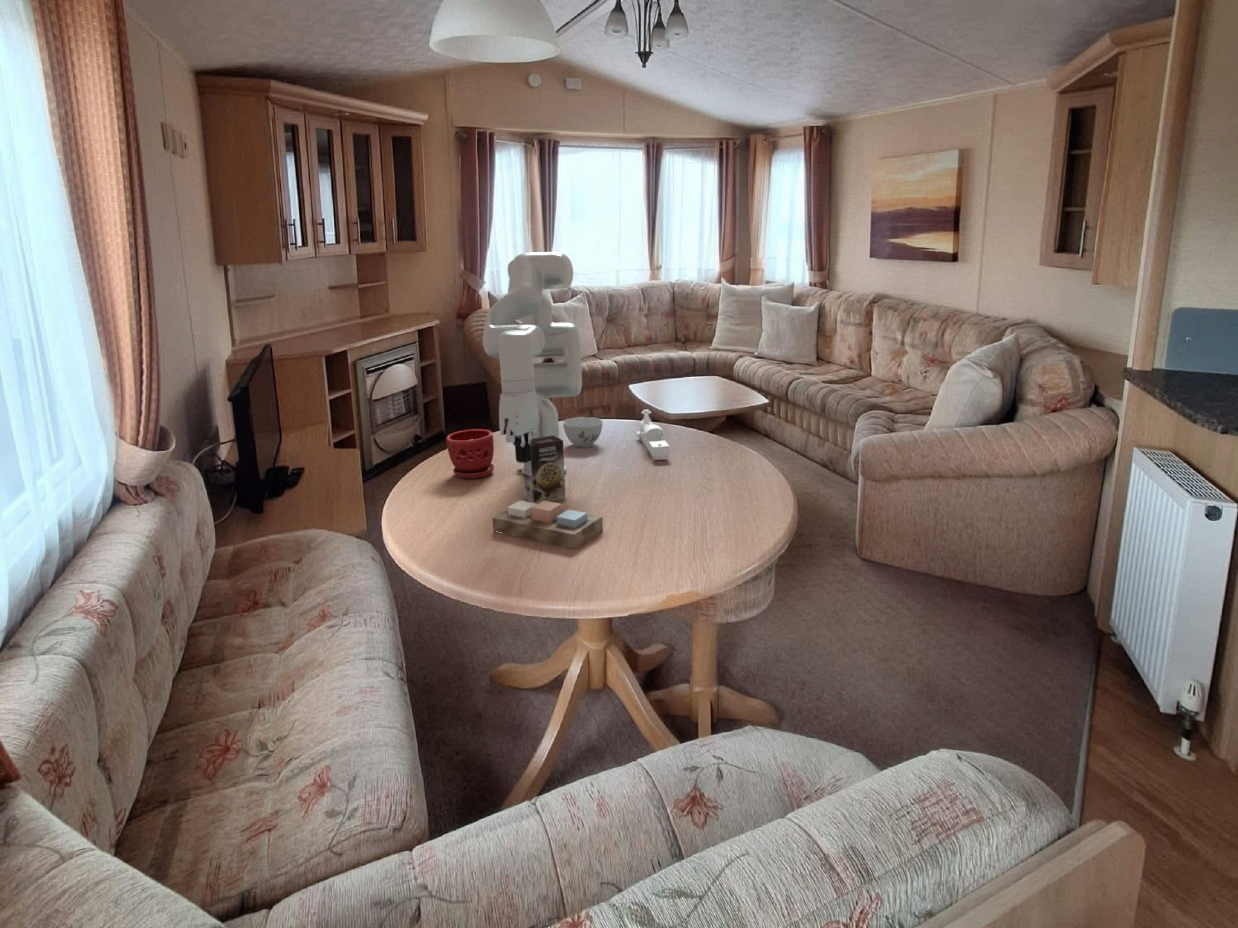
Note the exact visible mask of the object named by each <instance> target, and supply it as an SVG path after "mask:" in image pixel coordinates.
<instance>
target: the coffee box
mask: <svg viewBox="0 0 1238 928" xmlns="http://www.w3.org/2000/svg"><path fill="white" fill-rule="evenodd" d="M529 445H530V454H531V460H530V461H528V462H526V463H525V462H524V463H523V468H524V475H525V476H524V475H523V476H524V491H525V493H524V494H525V499H526V501H527V502H531V503H536V504H538V503H540V502H542V501H549V502H554V503H555V502H558V501H563V500H564V501H565V500H566V499H567V498H566V495H567V494H566V479H565V478H566V477H565V476H566V472H564V465H565V453H564V452H565V451H564V440H562V439H561V438H560V437H559V438H557V437H555V436H548V437H541V438H535V439H531V444H529Z"/></svg>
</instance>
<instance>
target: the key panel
mask: <svg viewBox="0 0 1238 928" xmlns="http://www.w3.org/2000/svg"><path fill="white" fill-rule="evenodd" d="M567 510H568V509H564V508H562V513H564V512H565V511H567ZM491 521H492V531H498V532H502V533H505V534H509V535H508V536H510V535H514V536H513V537H515V536H516V537H515V538H519V537H521V538H520V539H524V538H525V540H529V541H532V542H533V541H534V542H539V543H542V544H547V545H553V546H556V547H557V546H558V547H562V548H566V549H571V550H577V549H579V548H580V547H582V545H584V544H586V543H587V542H589V541H590V540H591V539H593V538H595V537H596V536H598V535H599V534H600V533H602V532H604V528H603V516H602V515H596V514H592V513H587V522H585V523H583V524H582V525H580V526H579V527H577V528H572V527H567V526H562V525H557V519H556V520H555V521H553V522H551V523H547V522H542V521H537V520H532V515H530V516H529V517H527V518H522V517H517V516H512V515H508V509H505V510H503V512H500V513H498V514H497V515H495V516H493V517H491ZM505 534H504V535H505Z"/></svg>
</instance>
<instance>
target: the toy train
mask: <svg viewBox="0 0 1238 928" xmlns="http://www.w3.org/2000/svg"><path fill="white" fill-rule="evenodd" d="M651 413H652V411H650V409H643V410H642V411H641V414H643V418H642V420H641V421H640V423H639V428H640V430H639V431H636V432H635V433H636V436H637V440H640V441H641V442H642V444H643V445H644V447H645V448H646V450H647V452H648V453H650V456H651V458H652V459H653V461H659V460H660V461H661V460H662V461H663V460H667V461H668V457H667V456H670V445H669V443H668V442H667V441H666V439H665V440H663V437H664V436H663V434H665V431H664V430H663V429H662V427H661V426H660V425H659V424H658V425H657V424H654V422H652V419H651V417H650V416H649V414H651Z"/></svg>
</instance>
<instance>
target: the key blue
mask: <svg viewBox="0 0 1238 928" xmlns="http://www.w3.org/2000/svg"><path fill="white" fill-rule="evenodd" d="M566 510H567V511H565V512H564V513H562V514H560V515H559V516H557V525H562V526H567V527H572V528H577V527H579V526H580V525H582V524H583V523H585V522H587V514H588V513H587V512H584V511H579V510H573V509H566Z"/></svg>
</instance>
